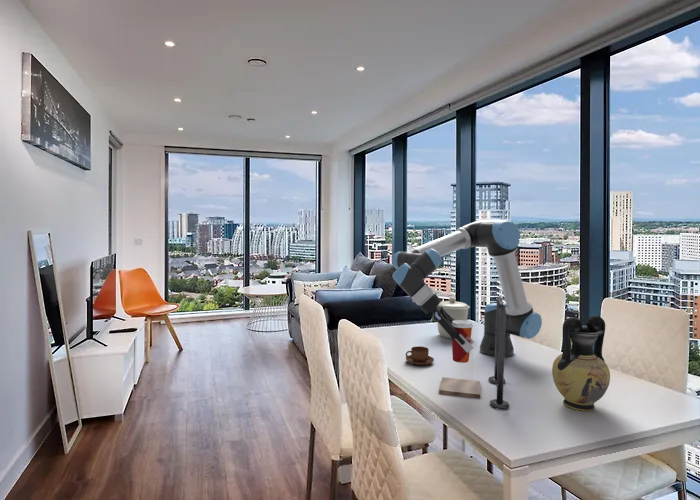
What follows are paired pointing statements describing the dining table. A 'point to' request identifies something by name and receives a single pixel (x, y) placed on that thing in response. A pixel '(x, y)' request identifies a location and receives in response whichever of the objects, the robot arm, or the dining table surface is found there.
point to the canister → (453, 313)
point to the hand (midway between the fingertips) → (470, 347)
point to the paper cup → (457, 350)
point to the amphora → (582, 364)
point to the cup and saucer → (419, 356)
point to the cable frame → (499, 357)
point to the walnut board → (460, 387)
